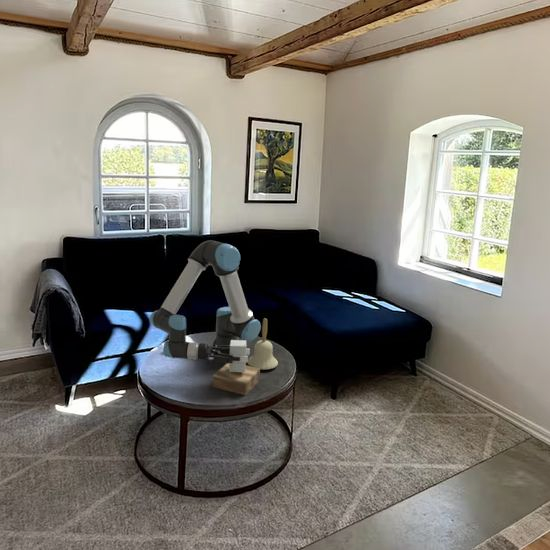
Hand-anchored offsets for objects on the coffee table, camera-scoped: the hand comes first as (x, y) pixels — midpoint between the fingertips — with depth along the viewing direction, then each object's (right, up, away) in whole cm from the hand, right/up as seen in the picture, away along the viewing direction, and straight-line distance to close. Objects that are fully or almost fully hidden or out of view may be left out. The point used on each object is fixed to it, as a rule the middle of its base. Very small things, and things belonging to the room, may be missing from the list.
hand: (248, 355), depth 222 cm
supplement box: (-5, -7, +2) cm, 9 cm away
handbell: (+6, -9, +25) cm, 27 cm away
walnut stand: (-6, -14, +4) cm, 15 cm away
